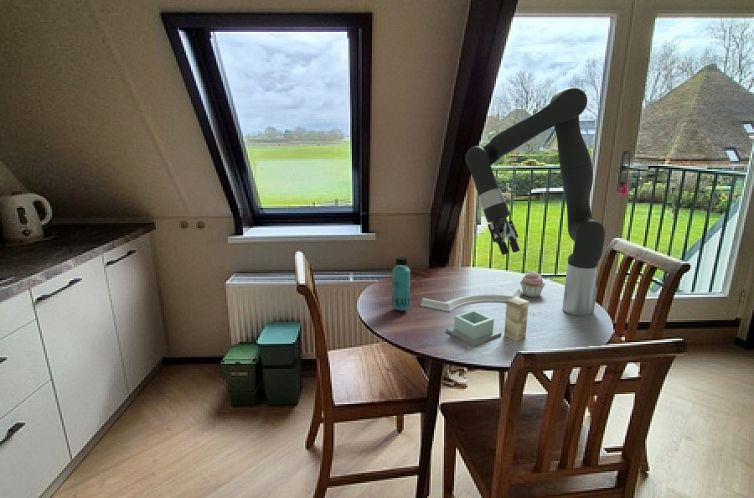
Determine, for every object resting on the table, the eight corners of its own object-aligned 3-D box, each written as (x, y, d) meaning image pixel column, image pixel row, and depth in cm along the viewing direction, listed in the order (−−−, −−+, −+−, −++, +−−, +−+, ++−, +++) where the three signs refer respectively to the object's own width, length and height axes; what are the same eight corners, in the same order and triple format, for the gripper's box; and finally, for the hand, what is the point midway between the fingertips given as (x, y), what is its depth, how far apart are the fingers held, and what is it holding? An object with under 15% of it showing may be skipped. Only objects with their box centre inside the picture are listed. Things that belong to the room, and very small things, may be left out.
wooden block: (513, 331, 131) (516, 296, 128) (525, 337, 128) (528, 301, 124) (504, 335, 129) (506, 299, 126) (515, 341, 125) (519, 304, 122)
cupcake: (534, 289, 166) (536, 265, 163) (549, 297, 157) (551, 272, 155) (513, 291, 164) (515, 267, 161) (527, 300, 155) (530, 275, 152)
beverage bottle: (398, 305, 152) (398, 253, 147) (413, 309, 149) (414, 256, 143) (388, 311, 147) (388, 258, 142) (404, 316, 143) (404, 261, 138)
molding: (516, 291, 166) (516, 284, 165) (534, 302, 154) (535, 295, 154) (416, 303, 156) (417, 296, 155) (428, 316, 144) (428, 308, 144)
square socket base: (472, 321, 138) (473, 306, 137) (501, 335, 129) (502, 319, 127) (446, 331, 132) (446, 315, 131) (473, 346, 122) (474, 329, 121)
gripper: (494, 201, 125) (513, 251, 123) (513, 201, 136) (530, 247, 134) (473, 210, 130) (491, 258, 128) (493, 209, 141) (509, 254, 138)
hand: (511, 252), depth 131 cm, fingers open, 8 cm apart
